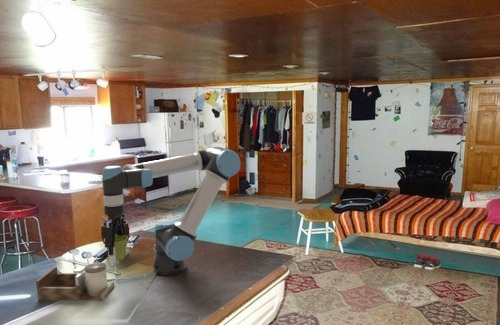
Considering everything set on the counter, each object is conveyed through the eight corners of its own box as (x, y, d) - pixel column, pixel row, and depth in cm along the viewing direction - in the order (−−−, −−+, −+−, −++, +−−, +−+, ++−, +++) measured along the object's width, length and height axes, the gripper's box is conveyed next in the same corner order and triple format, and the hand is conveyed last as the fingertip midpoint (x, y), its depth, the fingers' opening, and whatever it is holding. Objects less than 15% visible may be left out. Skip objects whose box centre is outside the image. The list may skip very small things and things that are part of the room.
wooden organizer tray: (115, 286, 172) (114, 267, 170) (102, 302, 158) (100, 281, 157) (56, 286, 173) (54, 266, 172) (38, 302, 159) (36, 280, 158)
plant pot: (121, 264, 159) (119, 243, 157) (100, 261, 161) (98, 241, 160) (133, 255, 168) (132, 235, 166) (113, 253, 170) (112, 233, 169)
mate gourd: (135, 251, 213) (133, 215, 210) (119, 260, 200) (117, 222, 197) (111, 248, 218) (109, 212, 215) (94, 257, 205) (91, 219, 202)
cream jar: (110, 287, 169) (109, 262, 168) (103, 296, 161) (101, 270, 160) (91, 287, 170) (90, 262, 168) (83, 296, 161) (81, 270, 160)
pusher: (91, 285, 171) (90, 263, 169) (79, 297, 159) (77, 274, 158) (83, 284, 171) (82, 263, 169) (70, 297, 160) (68, 274, 158)
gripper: (115, 198, 171) (118, 248, 175) (92, 211, 151) (96, 268, 154) (132, 198, 171) (135, 248, 174) (111, 211, 150) (115, 268, 153)
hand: (117, 257), depth 164 cm, fingers closed on plant pot, 8 cm apart
